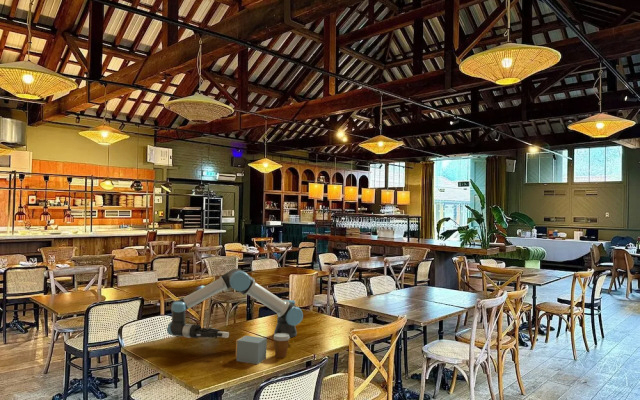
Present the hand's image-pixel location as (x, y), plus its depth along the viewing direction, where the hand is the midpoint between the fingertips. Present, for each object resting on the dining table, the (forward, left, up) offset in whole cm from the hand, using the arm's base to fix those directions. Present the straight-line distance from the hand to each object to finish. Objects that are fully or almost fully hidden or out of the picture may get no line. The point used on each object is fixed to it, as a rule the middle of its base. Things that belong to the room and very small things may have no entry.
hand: (228, 335), depth 250 cm
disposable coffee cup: (-30, +3, -12) cm, 33 cm away
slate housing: (-13, +7, -12) cm, 19 cm away
